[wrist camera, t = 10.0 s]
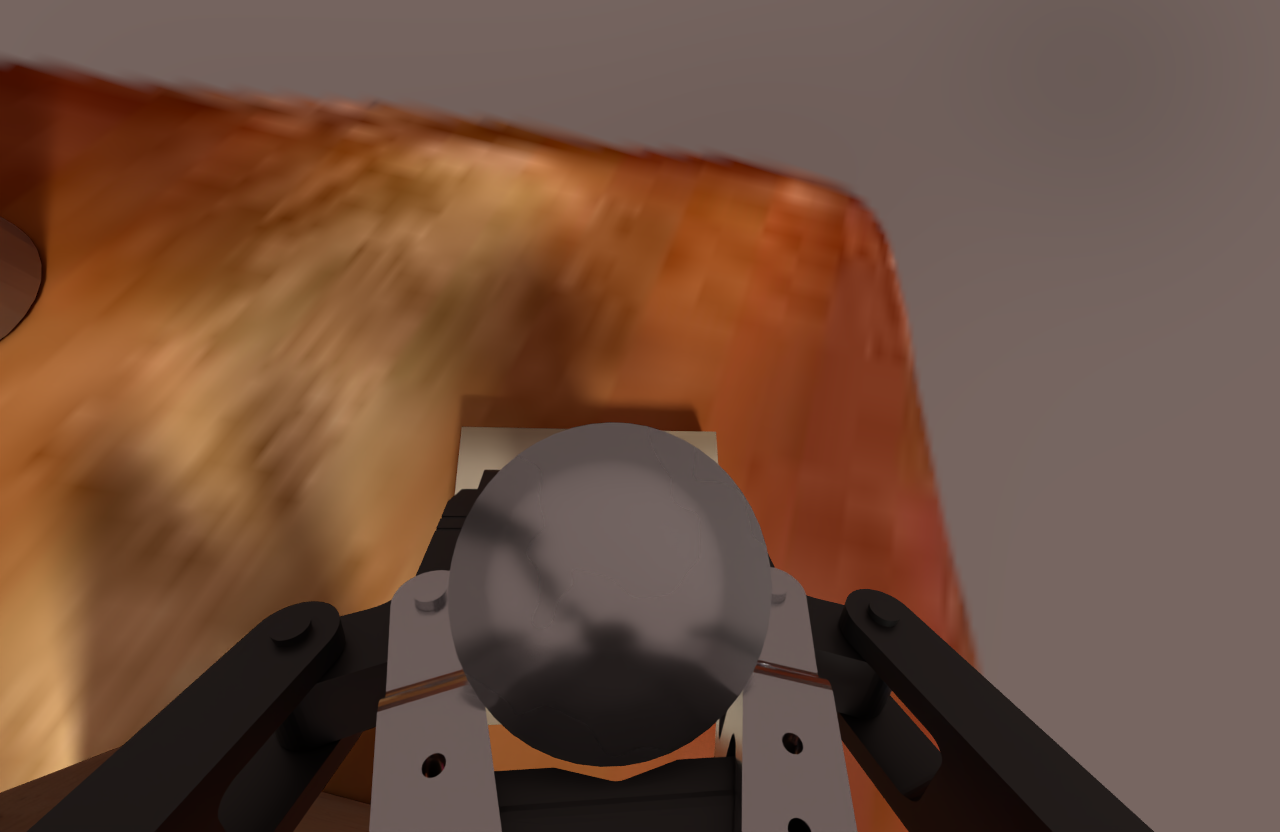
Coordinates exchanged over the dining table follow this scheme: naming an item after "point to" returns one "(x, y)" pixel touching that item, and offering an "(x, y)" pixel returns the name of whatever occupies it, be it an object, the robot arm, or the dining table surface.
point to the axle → (609, 594)
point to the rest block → (504, 444)
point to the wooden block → (5, 818)
